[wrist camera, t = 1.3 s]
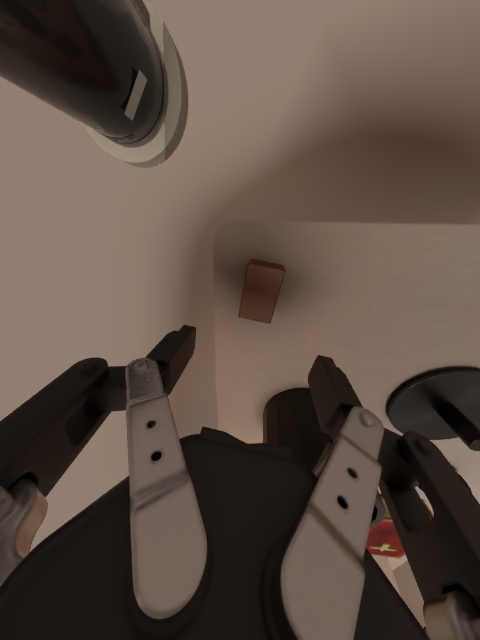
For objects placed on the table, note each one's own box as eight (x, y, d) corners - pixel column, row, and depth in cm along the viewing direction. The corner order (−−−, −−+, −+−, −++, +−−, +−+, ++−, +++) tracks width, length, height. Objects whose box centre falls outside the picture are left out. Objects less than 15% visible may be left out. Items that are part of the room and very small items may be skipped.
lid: (421, 355, 25) (464, 391, 20) (532, 379, 24) (607, 422, 19) (368, 421, 32) (389, 461, 26) (454, 441, 31) (493, 486, 26)
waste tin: (274, 380, 30) (280, 469, 19) (357, 398, 30) (412, 500, 19) (257, 429, 36) (253, 517, 25) (325, 445, 36) (351, 542, 25)
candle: (372, 536, 51) (409, 644, 38) (386, 545, 53) (427, 652, 39) (352, 540, 54) (380, 642, 41) (366, 548, 55) (398, 649, 42)
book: (423, 499, 40) (440, 527, 36) (391, 535, 50) (402, 560, 46) (365, 493, 41) (375, 520, 38) (344, 529, 51) (351, 553, 47)
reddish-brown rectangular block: (250, 258, 22) (248, 263, 19) (283, 265, 22) (285, 270, 19) (241, 307, 25) (238, 317, 22) (269, 313, 25) (270, 324, 22)
